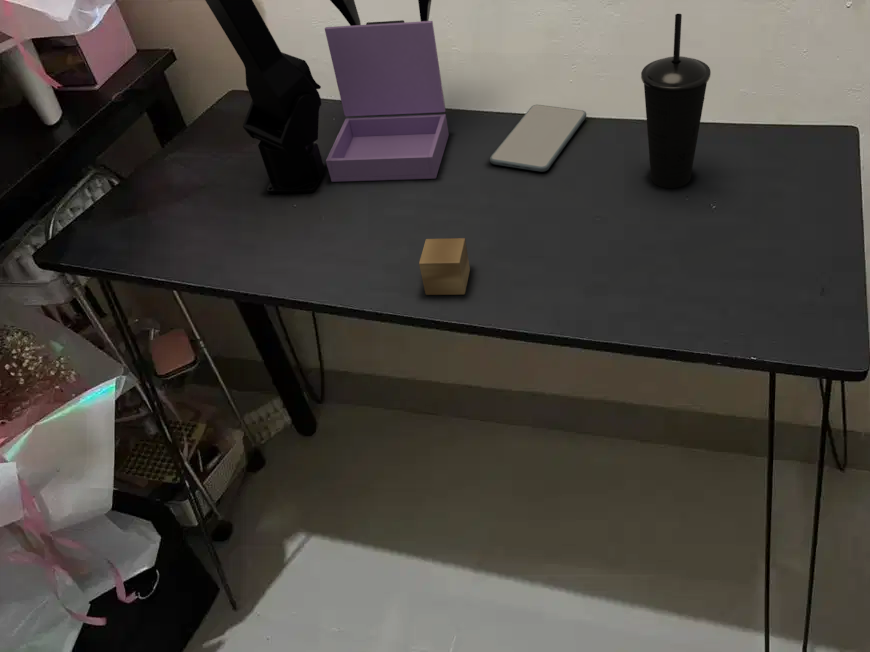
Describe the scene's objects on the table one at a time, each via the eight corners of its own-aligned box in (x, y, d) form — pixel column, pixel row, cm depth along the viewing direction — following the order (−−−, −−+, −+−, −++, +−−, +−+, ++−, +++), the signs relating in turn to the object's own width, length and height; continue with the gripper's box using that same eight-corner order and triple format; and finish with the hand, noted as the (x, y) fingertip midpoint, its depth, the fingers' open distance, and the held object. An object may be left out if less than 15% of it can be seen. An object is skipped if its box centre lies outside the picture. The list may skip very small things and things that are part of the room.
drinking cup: (632, 190, 102) (633, 27, 88) (648, 158, 107) (652, -2, 93) (694, 198, 100) (706, 32, 85) (708, 164, 104) (721, 2, 90)
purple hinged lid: (431, 22, 106) (437, 10, 109) (324, 28, 108) (333, 16, 111) (444, 112, 114) (450, 98, 117) (344, 116, 116) (352, 102, 119)
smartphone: (487, 159, 109) (533, 103, 118) (488, 165, 110) (533, 109, 119) (546, 168, 106) (588, 110, 115) (546, 175, 107) (588, 116, 116)
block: (425, 295, 92) (418, 263, 89) (432, 270, 95) (425, 238, 92) (464, 294, 91) (459, 262, 88) (470, 269, 94) (465, 237, 91)
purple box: (436, 178, 109) (432, 156, 106) (331, 181, 111) (325, 160, 108) (449, 134, 116) (445, 113, 114) (351, 138, 118) (345, 117, 116)
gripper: (452, -121, 106) (468, 4, 117) (312, -109, 109) (341, 12, 120) (437, -92, 99) (456, 38, 110) (288, -80, 102) (320, 45, 113)
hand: (392, 32), depth 113 cm, fingers open, 9 cm apart
